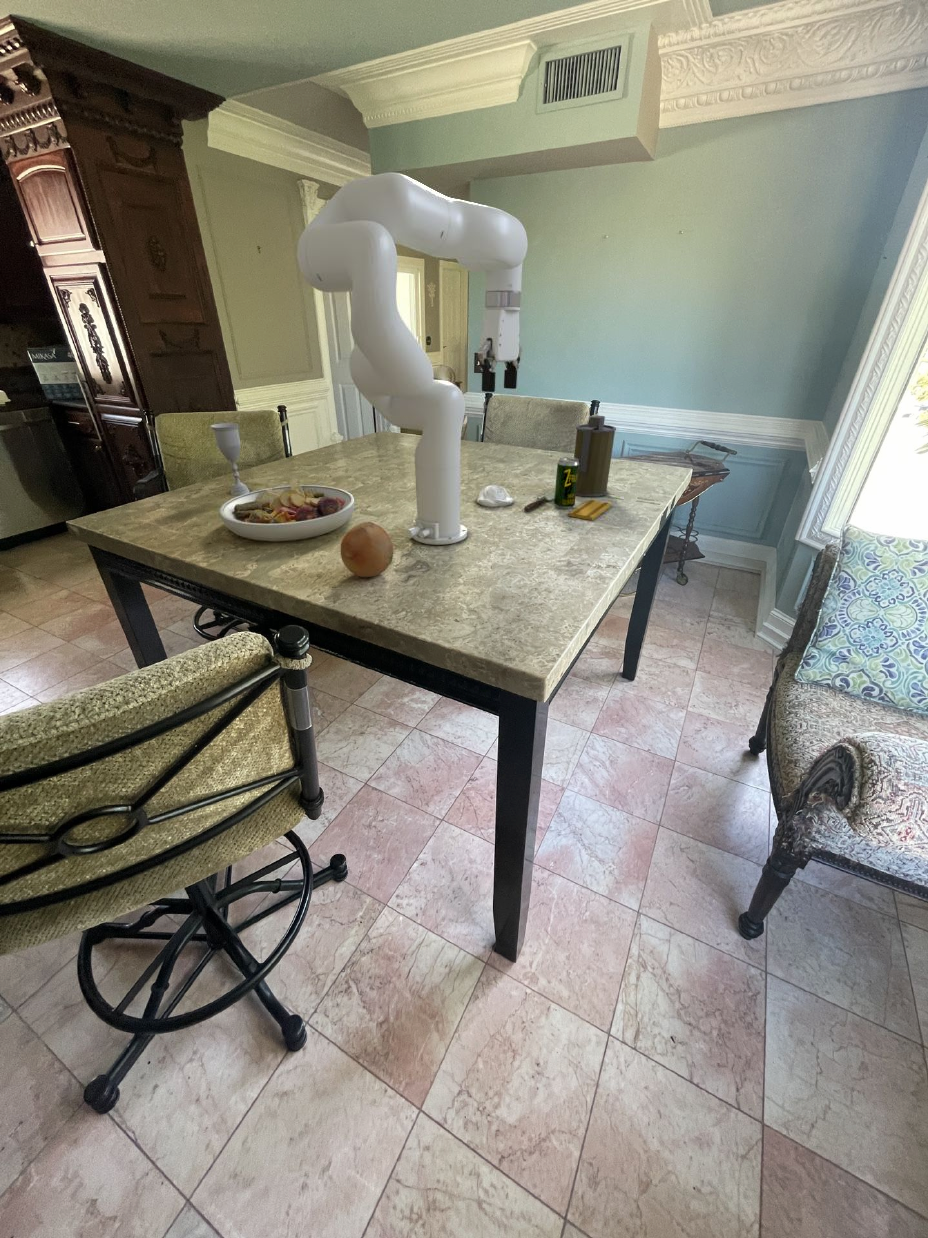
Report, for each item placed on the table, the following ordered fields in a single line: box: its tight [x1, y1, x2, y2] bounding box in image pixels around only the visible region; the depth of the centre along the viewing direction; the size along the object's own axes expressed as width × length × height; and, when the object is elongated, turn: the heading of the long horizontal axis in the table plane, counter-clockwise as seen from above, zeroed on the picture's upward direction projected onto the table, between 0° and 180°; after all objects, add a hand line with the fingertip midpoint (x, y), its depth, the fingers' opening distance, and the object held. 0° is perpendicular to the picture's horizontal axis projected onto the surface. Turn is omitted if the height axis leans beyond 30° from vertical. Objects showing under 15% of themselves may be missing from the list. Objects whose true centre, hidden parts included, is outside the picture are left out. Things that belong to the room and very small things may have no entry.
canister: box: [573, 415, 617, 498], centre depth 137 cm, size 11×10×20 cm
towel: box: [568, 499, 612, 521], centre depth 127 cm, size 13×6×1 cm, turn 146°
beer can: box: [553, 456, 579, 510], centre depth 128 cm, size 5×5×12 cm
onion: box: [340, 521, 394, 579], centre depth 92 cm, size 10×10×10 cm
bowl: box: [219, 484, 356, 542], centre depth 118 cm, size 30×30×8 cm
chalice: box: [210, 422, 251, 496], centre depth 137 cm, size 7×7×18 cm
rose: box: [476, 484, 514, 508], centre depth 133 cm, size 10×4×10 cm
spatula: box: [523, 491, 555, 512], centre depth 132 cm, size 17×4×1 cm, turn 146°
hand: (499, 389), depth 116 cm, fingers open, 9 cm apart
